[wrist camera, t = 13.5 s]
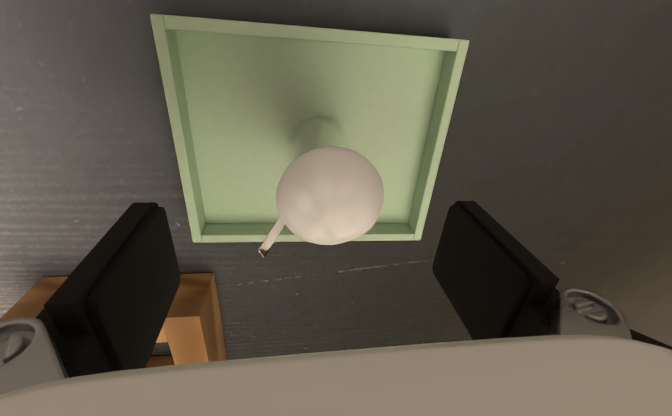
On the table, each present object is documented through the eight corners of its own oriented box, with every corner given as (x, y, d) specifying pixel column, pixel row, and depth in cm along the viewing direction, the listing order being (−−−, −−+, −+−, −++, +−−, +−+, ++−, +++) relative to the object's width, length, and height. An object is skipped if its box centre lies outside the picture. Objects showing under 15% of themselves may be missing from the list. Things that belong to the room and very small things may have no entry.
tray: (201, 224, 23) (192, 242, 21) (166, 15, 16) (148, 13, 14) (410, 224, 25) (420, 240, 23) (451, 39, 19) (470, 40, 17)
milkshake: (258, 128, 19) (227, 206, 10) (338, 93, 19) (376, 146, 10) (290, 188, 21) (286, 293, 13) (362, 159, 21) (409, 247, 12)
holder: (93, 376, 30) (63, 428, 26) (43, 276, 24) (-8, 324, 20) (229, 367, 31) (219, 415, 27) (214, 272, 25) (199, 316, 21)
